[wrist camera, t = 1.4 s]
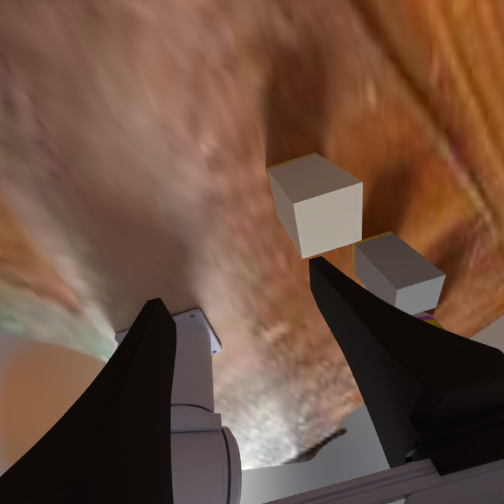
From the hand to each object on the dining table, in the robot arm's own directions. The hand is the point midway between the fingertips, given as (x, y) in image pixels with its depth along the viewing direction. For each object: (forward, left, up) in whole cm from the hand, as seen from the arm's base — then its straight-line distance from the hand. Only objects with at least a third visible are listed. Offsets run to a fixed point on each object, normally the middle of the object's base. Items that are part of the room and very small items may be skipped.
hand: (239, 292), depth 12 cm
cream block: (+6, 0, -11) cm, 12 cm away
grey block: (+13, -10, -11) cm, 20 cm away
